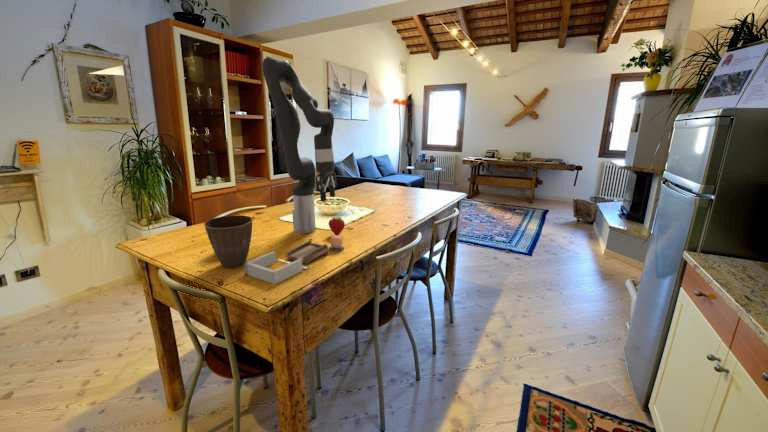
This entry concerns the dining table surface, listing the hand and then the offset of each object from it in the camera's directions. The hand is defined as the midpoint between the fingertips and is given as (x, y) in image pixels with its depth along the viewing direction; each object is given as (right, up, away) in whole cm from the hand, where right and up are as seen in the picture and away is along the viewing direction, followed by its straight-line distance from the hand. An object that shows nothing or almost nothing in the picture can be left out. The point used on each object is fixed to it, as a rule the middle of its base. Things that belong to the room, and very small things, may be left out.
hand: (328, 198), depth 142 cm
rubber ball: (+5, -17, -9) cm, 20 cm away
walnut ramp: (-5, -22, -16) cm, 28 cm away
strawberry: (+3, -16, +8) cm, 18 cm away
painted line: (-9, -24, -22) cm, 34 cm away
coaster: (+5, -20, -8) cm, 22 cm away
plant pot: (-29, -25, -23) cm, 45 cm away
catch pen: (-13, -26, -29) cm, 41 cm away
